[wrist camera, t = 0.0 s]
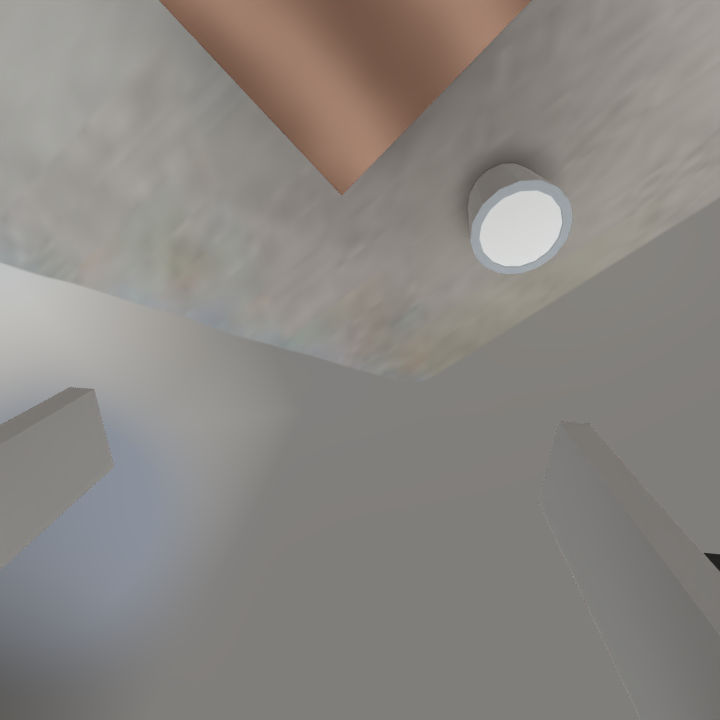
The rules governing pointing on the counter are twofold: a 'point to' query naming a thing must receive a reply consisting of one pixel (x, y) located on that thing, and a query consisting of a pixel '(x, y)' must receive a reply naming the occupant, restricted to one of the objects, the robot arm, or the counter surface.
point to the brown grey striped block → (344, 65)
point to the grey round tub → (516, 219)
